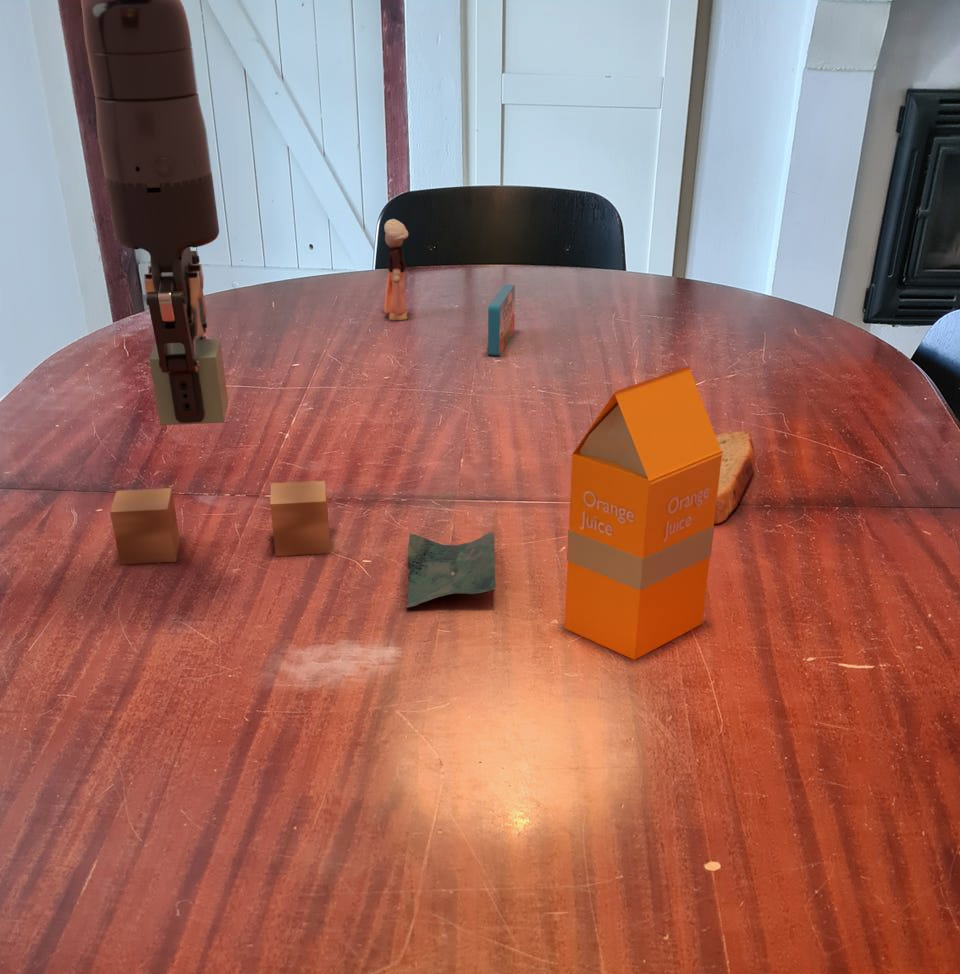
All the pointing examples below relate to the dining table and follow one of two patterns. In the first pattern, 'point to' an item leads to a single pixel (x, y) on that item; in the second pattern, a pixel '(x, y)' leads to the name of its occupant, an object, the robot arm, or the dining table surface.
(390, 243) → the grandmother figurine
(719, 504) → the bread slice
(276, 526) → the beech block right
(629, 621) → the orange juice
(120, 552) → the beech block left
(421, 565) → the terrain model
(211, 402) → the sage block
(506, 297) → the teal flat box
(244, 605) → the dining table surface
